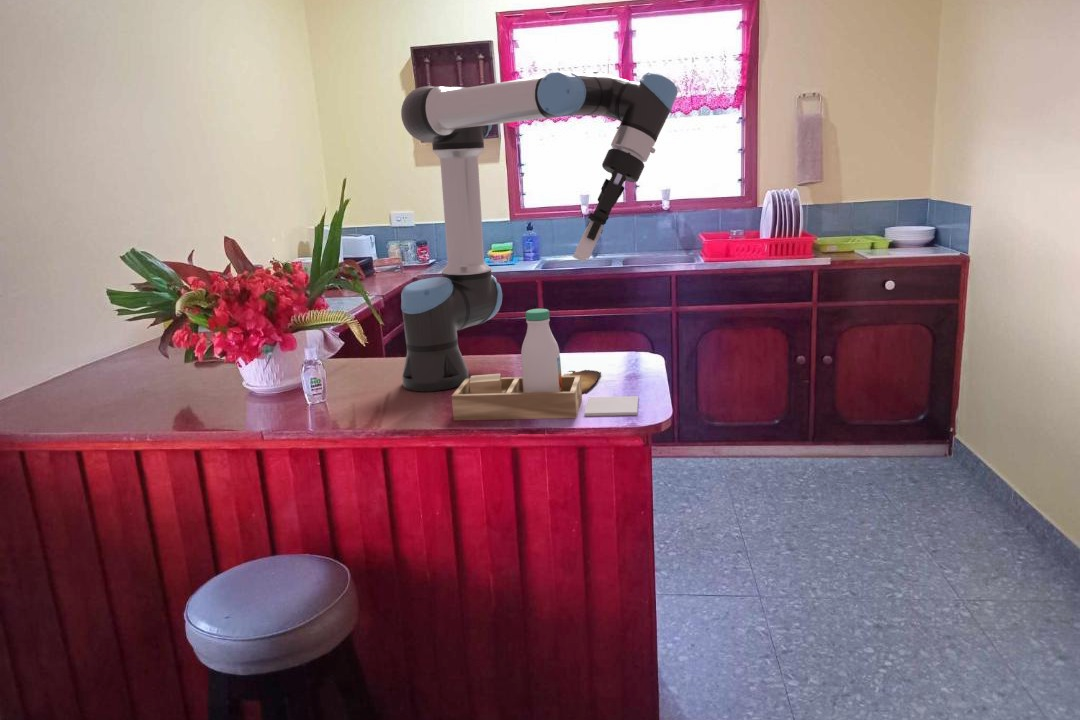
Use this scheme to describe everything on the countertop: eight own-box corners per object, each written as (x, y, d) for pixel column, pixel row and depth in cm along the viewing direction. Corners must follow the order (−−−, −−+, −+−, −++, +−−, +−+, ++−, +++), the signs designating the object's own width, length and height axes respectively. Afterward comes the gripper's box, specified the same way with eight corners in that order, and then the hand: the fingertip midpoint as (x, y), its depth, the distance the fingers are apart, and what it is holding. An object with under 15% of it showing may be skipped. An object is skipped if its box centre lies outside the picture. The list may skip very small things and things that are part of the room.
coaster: (588, 400, 160) (588, 397, 160) (638, 398, 159) (638, 396, 158) (584, 416, 151) (584, 413, 150) (637, 415, 149) (637, 412, 149)
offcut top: (472, 392, 160) (470, 375, 159) (501, 389, 160) (500, 373, 159) (471, 399, 155) (469, 382, 155) (501, 397, 156) (499, 380, 155)
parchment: (568, 371, 183) (568, 367, 183) (609, 371, 180) (608, 368, 179) (530, 406, 161) (529, 402, 161) (575, 407, 158) (575, 403, 157)
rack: (468, 401, 165) (465, 378, 164) (581, 398, 161) (580, 375, 160) (454, 420, 154) (451, 396, 152) (576, 418, 150) (574, 392, 149)
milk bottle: (556, 416, 152) (550, 314, 147) (519, 414, 154) (511, 314, 149) (568, 403, 159) (562, 306, 154) (532, 402, 161) (525, 306, 156)
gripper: (654, 151, 137) (602, 263, 138) (637, 174, 162) (593, 268, 163) (615, 133, 137) (564, 245, 138) (604, 159, 162) (561, 253, 163)
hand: (580, 258), depth 151 cm, fingers open, 13 cm apart
